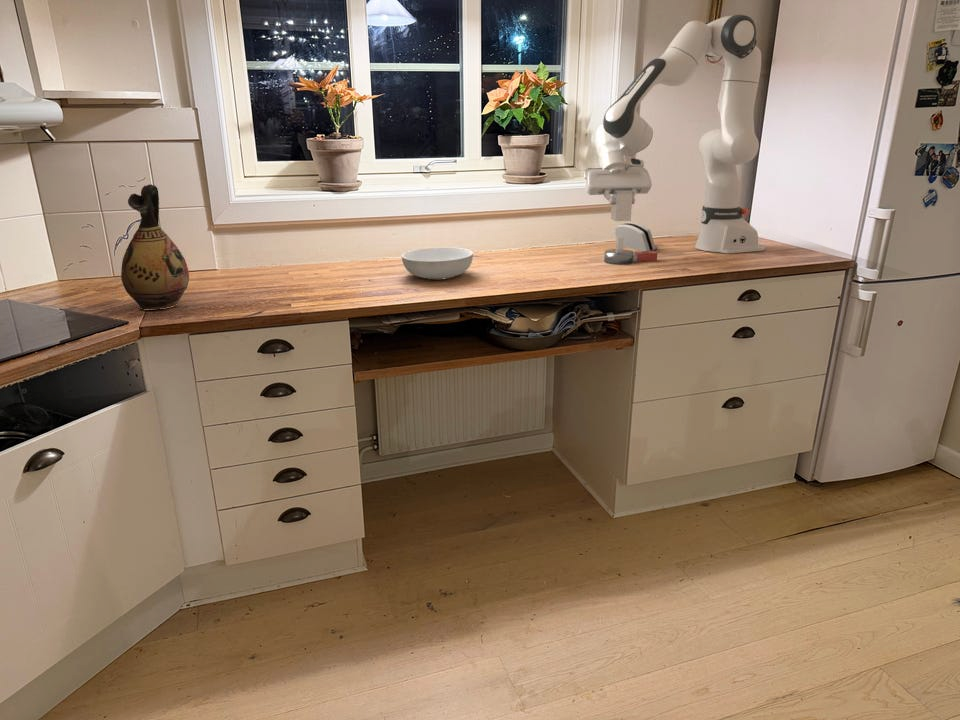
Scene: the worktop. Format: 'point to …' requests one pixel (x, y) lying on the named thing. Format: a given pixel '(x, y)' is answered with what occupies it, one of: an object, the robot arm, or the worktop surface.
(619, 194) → the grey block
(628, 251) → the grey dome with handle
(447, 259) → the serving bowl
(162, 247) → the ceramic jug
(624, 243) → the grey black slotted block
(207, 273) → the worktop surface
